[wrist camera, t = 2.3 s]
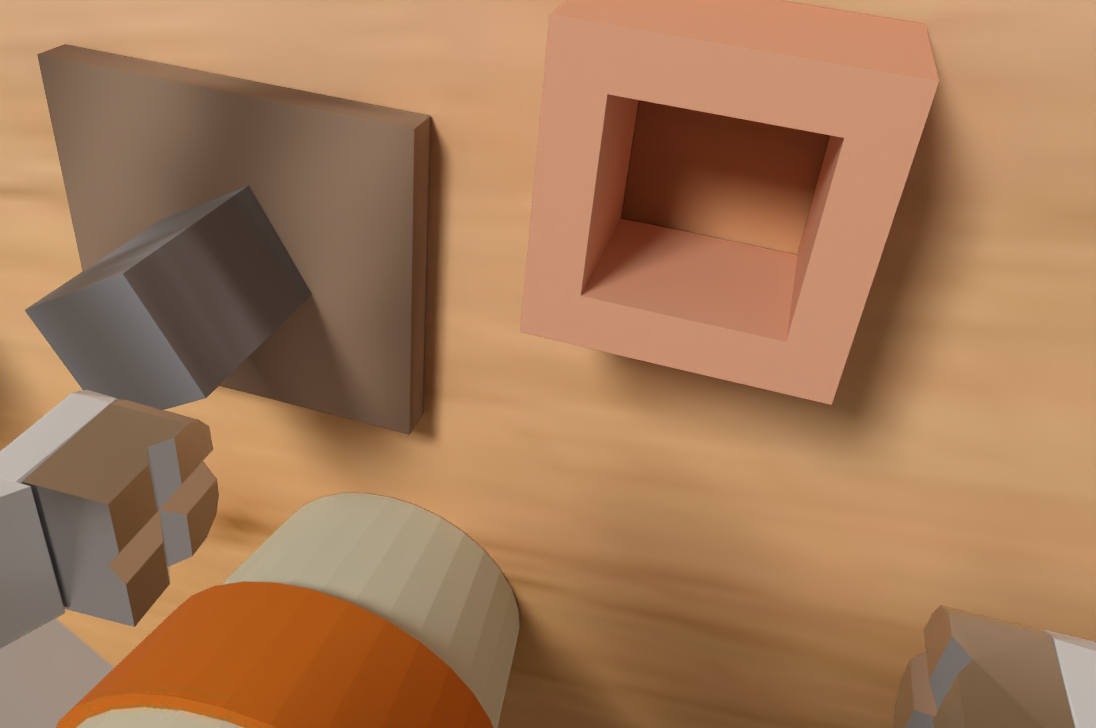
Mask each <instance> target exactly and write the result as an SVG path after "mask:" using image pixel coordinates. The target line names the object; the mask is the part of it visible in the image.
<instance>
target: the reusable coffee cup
mask: <svg viewBox="0 0 1096 728" xmlns="http://www.w3.org/2000/svg"><path fill="white" fill-rule="evenodd" d="M519 629H520V624H519V611H518V607H517V604H516V600H515V597H514V594H513V591H512V589H511V587H510V585H509V584H508V582H507V580H506V578H505V577H504V575H503V573H502V571H501V570H500V568H499V567H498V566H497V565H496V564H495V562H494V561H493V560H492V559H491V558H490V556H489V555H488V554H487V553H486V552H485V550H483V549H482V548H481V547H480V546H479V545H478V544H477V543H476V542H474V541H473V540H472V539H471V538H470V537H469V536H468V535H467V534H465V533H464V532H463V531H461V530H460V529H458V528H457V527H455V526H454V525H452V524H451V523H449V522H448V521H446V520H444V519H443V518H441V517H439V516H437V515H435V514H433V513H431V512H429V511H427V510H425V509H423V508H421V507H419V506H416V505H413V504H410V503H407V502H404V501H401V500H398V499H395V498H391V497H386V496H380V495H374V494H367V493H341V494H336V495H331V496H326V497H321V498H319V499H317V500H314V501H312V502H310V503H308V504H306V505H304V506H302V507H301V508H300V509H299V510H298V511H296V512H295V513H294V514H293V515H292V516H291V517H289V518H288V519H287V520H286V521H285V522H284V523H283V524H282V525H281V526H280V527H279V528H278V529H277V530H276V531H275V532H274V533H273V534H272V535H271V536H270V537H269V538H268V539H267V540H266V541H265V542H264V543H263V544H262V545H261V546H260V547H259V548H258V549H257V550H256V551H255V552H254V553H253V554H252V555H251V556H250V557H249V558H248V559H247V560H246V561H245V562H244V563H243V564H242V565H241V566H240V567H239V568H238V569H236V570H235V571H234V572H233V573H232V574H231V575H230V576H229V577H228V578H227V579H226V580H225V581H224V582H223V583H222V584H221V585H218V586H214V587H211V588H209V589H206V590H204V591H202V592H199V593H197V594H195V595H192V596H191V597H190V598H189V599H187V600H186V601H185V602H184V603H183V604H181V605H180V606H179V607H178V608H177V609H176V610H175V611H173V612H172V613H171V614H170V615H169V616H168V617H167V618H166V619H165V620H164V621H163V622H162V623H161V624H160V625H159V626H158V627H157V628H156V629H155V630H154V631H153V632H152V633H151V634H149V635H148V636H147V637H146V638H145V639H144V640H143V641H142V642H141V643H140V644H139V645H138V646H137V647H136V648H135V649H134V650H133V651H132V652H131V653H130V654H129V655H128V656H126V657H125V658H124V659H123V660H122V661H121V662H120V663H119V664H118V665H117V666H116V667H115V668H114V669H113V670H112V671H111V672H110V673H109V674H108V675H107V676H106V677H105V678H104V679H102V680H101V681H100V682H99V683H98V684H97V685H96V686H95V687H94V688H93V689H92V690H91V691H90V692H89V693H88V694H87V695H86V696H85V697H84V698H83V699H82V700H81V701H80V702H78V703H77V704H76V705H75V706H74V707H73V708H72V709H71V710H70V711H69V712H68V713H67V714H66V715H65V716H64V717H63V718H62V719H61V720H60V721H59V722H58V724H57V727H56V728H498V724H499V719H500V715H501V710H502V706H503V701H504V697H505V692H506V688H507V684H508V679H509V675H510V670H511V666H512V661H513V657H514V652H515V648H516V643H517V639H518V634H519Z"/></svg>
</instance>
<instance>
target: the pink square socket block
mask: <svg viewBox="0 0 1096 728" xmlns="http://www.w3.org/2000/svg"><path fill="white" fill-rule="evenodd" d="M938 84H939V78H938V74H937V70H936V65H935V61H934V57H933V53H932V49H931V45H930V41H929V37H928V32H927V28H926V24H921V23H914V22H908V21H902V20H896V19H890V18H884V17H877V16H871V15H865V14H859V13H853V12H847V11H840V10H834V9H828V8H822V7H816V6H810V5H803V4H797V3H791V2H785V1H779V0H566V1H565V2H564V3H563V4H561V5H560V6H559V7H558V8H557V9H555V10H554V11H553V12H552V13H551V14H550V16H549V27H548V37H547V48H546V59H545V69H544V80H543V91H542V102H541V112H540V123H539V134H538V145H537V155H536V166H535V177H534V187H533V198H532V209H531V220H530V230H529V241H528V252H527V262H526V273H525V284H524V295H523V305H522V316H521V327H520V332H521V333H526V334H530V335H534V336H539V337H543V338H547V339H551V340H556V341H560V342H564V343H569V344H573V345H577V346H581V347H586V348H590V349H594V350H599V351H603V352H607V353H611V354H616V355H620V356H624V357H629V358H633V359H637V360H641V361H646V362H650V363H654V364H659V365H663V366H667V367H671V368H676V369H680V370H684V371H689V372H693V373H697V374H701V375H706V376H710V377H714V378H719V379H723V380H727V381H731V382H736V383H740V384H744V385H749V386H753V387H757V388H761V389H766V390H770V391H774V392H779V393H783V394H787V395H791V396H796V397H800V398H804V399H808V400H813V401H817V402H821V403H826V404H830V405H832V402H833V399H834V396H835V393H836V390H837V387H838V384H839V381H840V378H841V375H842V372H843V369H844V366H845V363H846V360H847V357H848V354H849V351H850V348H851V345H852V342H853V339H854V336H855V333H856V330H857V327H858V324H859V321H860V318H861V315H862V312H863V309H864V306H865V303H866V300H867V297H868V294H869V291H870V288H871V285H872V282H873V279H874V276H875V273H876V270H877V267H878V264H879V261H880V258H881V255H882V252H883V249H884V246H885V243H886V240H887V237H888V234H889V231H890V228H891V225H892V222H893V219H894V216H895V213H896V210H897V207H898V204H899V201H900V198H901V195H902V192H903V189H904V186H905V183H906V180H907V177H908V174H909V171H910V168H911V165H912V162H913V159H914V156H915V153H916V150H917V147H918V144H919V141H920V138H921V135H922V132H923V129H924V126H925V123H926V120H927V117H928V114H929V111H930V108H931V105H932V102H933V99H934V96H935V93H936V90H937V87H938ZM639 100H642V101H647V102H653V103H658V104H663V105H669V106H674V107H680V108H685V109H690V110H696V111H701V112H707V113H712V114H717V115H723V116H728V117H734V118H739V119H745V120H750V121H755V122H761V123H766V124H772V125H777V126H782V127H788V128H793V129H799V130H804V131H809V132H815V133H820V134H826V135H830V138H829V142H828V145H827V149H826V152H825V156H824V160H823V163H822V167H821V171H820V174H819V178H818V181H817V185H816V189H815V192H814V196H813V200H812V203H811V207H810V210H809V214H808V218H807V221H806V225H805V229H804V232H803V236H802V239H801V243H800V247H799V250H798V254H797V255H796V254H791V253H786V252H781V251H776V250H772V249H767V248H762V247H757V246H752V245H748V244H743V243H738V242H733V241H728V240H723V239H719V238H714V237H709V236H704V235H699V234H695V233H690V232H685V231H680V230H675V229H670V228H666V227H661V226H656V225H651V224H646V223H642V222H637V221H632V220H627V219H622V218H621V214H622V207H623V201H624V194H625V188H626V181H627V175H628V168H629V162H630V155H631V149H632V142H633V135H634V129H635V122H636V116H637V109H638V103H639Z"/></svg>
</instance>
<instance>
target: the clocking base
mask: <svg viewBox="0 0 1096 728" xmlns="http://www.w3.org/2000/svg"><path fill="white" fill-rule="evenodd" d="M37 55H38V60H39V65H40V69H41V74H42V79H43V84H44V89H45V93H46V98H47V103H48V108H49V112H50V117H51V122H52V127H53V132H54V136H55V141H56V146H57V151H58V156H59V160H60V165H61V170H62V175H63V179H64V184H65V189H66V194H67V199H68V203H69V208H70V213H71V218H72V222H73V227H74V232H75V237H76V242H77V246H78V251H79V256H80V261H81V266H82V270H83V272H81V273H80V274H78V275H77V276H75V277H74V278H72V279H71V280H69V281H68V282H66V283H65V284H63V285H62V286H60V287H59V288H57V289H56V290H54V291H53V292H51V293H50V294H48V295H47V296H45V297H44V298H42V299H41V300H39V301H38V302H36V303H35V304H33V305H32V306H30V307H29V308H27V309H26V310H25V311H26V313H27V314H28V315H29V317H30V318H31V319H32V321H33V322H34V324H35V325H36V326H37V328H38V329H39V330H40V332H41V333H42V335H43V336H44V337H45V339H46V340H47V341H48V343H49V344H50V345H51V347H52V348H53V350H54V351H55V352H56V354H57V355H58V356H59V358H60V359H61V360H62V362H63V363H64V365H65V366H66V367H67V369H68V370H69V371H70V373H71V374H72V376H73V377H74V378H75V380H76V381H77V382H78V384H79V385H80V386H81V388H82V389H83V390H90V391H93V392H96V393H100V394H103V395H107V396H110V397H114V398H117V399H121V400H124V399H125V400H129V401H132V402H136V403H140V404H143V405H147V406H150V407H154V408H158V409H161V410H164V409H168V408H172V407H175V406H179V405H183V404H186V403H190V402H194V401H197V400H201V399H204V398H207V397H208V396H209V395H210V394H211V393H212V392H213V391H214V390H215V389H216V388H217V387H218V386H219V385H220V386H223V387H227V388H231V389H235V390H239V391H243V392H247V393H250V394H254V395H258V396H262V397H266V398H270V399H274V400H278V401H281V402H285V403H289V404H293V405H297V406H301V407H305V408H309V409H312V410H316V411H320V412H324V413H328V414H332V415H336V416H339V417H343V418H347V419H351V420H355V421H359V422H363V423H367V424H370V425H374V426H378V427H382V428H386V429H390V430H394V431H398V432H401V433H405V434H410V433H411V431H412V430H413V428H414V427H415V425H416V424H417V422H418V421H419V419H420V418H421V416H422V415H423V382H424V343H425V304H426V265H427V225H428V186H429V147H430V116H429V115H424V114H418V113H413V112H408V111H403V110H398V109H393V108H388V107H383V106H378V105H372V104H367V103H362V102H357V101H352V100H347V99H342V98H337V97H331V96H326V95H321V94H316V93H311V92H306V91H301V90H296V89H291V88H285V87H280V86H275V85H270V84H265V83H260V82H255V81H250V80H244V79H239V78H234V77H229V76H224V75H219V74H214V73H209V72H204V71H198V70H193V69H188V68H183V67H178V66H173V65H168V64H163V63H157V62H152V61H147V60H142V59H137V58H132V57H127V56H122V55H117V54H111V53H106V52H101V51H96V50H91V49H86V48H81V47H76V46H70V45H62V46H59V47H56V48H54V49H51V50H48V51H45V52H43V53H40V54H37Z"/></svg>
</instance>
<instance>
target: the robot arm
mask: <svg viewBox="0 0 1096 728" xmlns="http://www.w3.org/2000/svg"><path fill="white" fill-rule="evenodd" d="M212 450H213V445H212V440H211V434H210V428H209V426H208V425H206V424H205V423H203V422H202V421H200V420H197V419H194V418H190V417H186V416H183V415H179V414H176V413H172V412H168V411H165V410H161V409H158V408H154V407H150V406H147V405H143V404H140V403H136V402H132V401H129V400H125V399H124V400H121V399H117V398H114V397H110V396H107V395H103V394H100V393H96V392H93V391H90V390H83V391H78V392H74V393H71V394H70V395H69V396H68V397H66V398H65V399H64V400H63V401H61V402H60V403H59V404H58V405H57V406H55V407H54V408H53V409H52V410H50V411H49V412H48V413H47V414H46V415H44V416H43V417H42V418H41V419H39V420H38V421H37V422H36V423H34V424H33V425H32V426H31V427H30V428H28V429H27V430H26V431H25V432H23V433H22V434H21V435H20V436H19V437H17V438H16V439H15V440H14V441H12V442H11V443H10V444H9V445H7V446H6V447H5V448H4V449H3V450H1V451H0V648H2V647H4V646H6V645H8V644H10V643H11V642H13V641H15V640H17V639H19V638H20V637H22V636H24V635H26V634H28V633H30V632H31V631H33V630H35V629H37V628H39V627H41V626H42V625H44V624H46V623H48V622H50V621H51V620H53V619H55V618H57V617H59V616H61V615H62V614H64V613H65V610H64V609H68V610H71V611H75V612H79V613H83V614H87V615H91V616H95V617H99V618H102V619H106V620H110V621H114V622H118V623H122V624H126V625H129V626H133V627H135V626H136V625H137V623H138V622H139V621H140V620H141V619H142V617H143V616H144V615H145V614H146V612H147V611H148V610H149V609H150V608H151V606H152V605H153V604H154V603H155V601H156V600H157V599H158V598H159V597H160V595H161V594H162V593H163V592H164V590H165V589H166V588H167V587H168V586H169V584H170V576H169V566H171V565H173V564H176V563H178V562H180V561H182V560H185V559H187V558H189V557H191V556H193V555H194V553H195V552H196V551H197V549H198V548H199V547H200V546H201V544H202V543H203V542H204V540H205V539H206V538H207V535H208V533H209V531H210V528H211V526H212V524H213V521H214V519H215V516H216V513H217V506H218V498H219V493H218V484H217V478H216V477H215V476H214V475H213V473H212V472H211V471H210V469H209V468H208V467H207V465H206V464H205V463H204V462H203V460H204V459H205V458H206V457H207V456H208V455H209V453H210V452H211V451H212ZM924 636H925V646H926V652H924V653H922V654H920V655H918V656H916V657H914V658H911V659H910V660H909V663H908V665H907V667H906V670H905V672H904V674H903V677H902V679H901V682H900V686H899V691H898V695H897V699H896V704H895V714H894V728H1096V642H1095V641H1091V640H1086V639H1082V638H1078V637H1074V636H1069V635H1065V634H1061V633H1057V632H1052V631H1048V630H1043V631H1042V630H1040V629H1037V628H1033V627H1029V626H1025V625H1021V624H1017V623H1013V622H1008V621H1004V620H1000V619H996V618H992V617H988V616H984V615H979V614H975V613H971V612H967V611H963V610H959V609H955V608H951V607H946V606H942V605H940V606H939V607H938V608H937V609H936V610H935V611H934V612H933V613H932V615H931V617H930V619H929V621H928V623H927V625H926V627H925V629H924Z"/></svg>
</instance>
